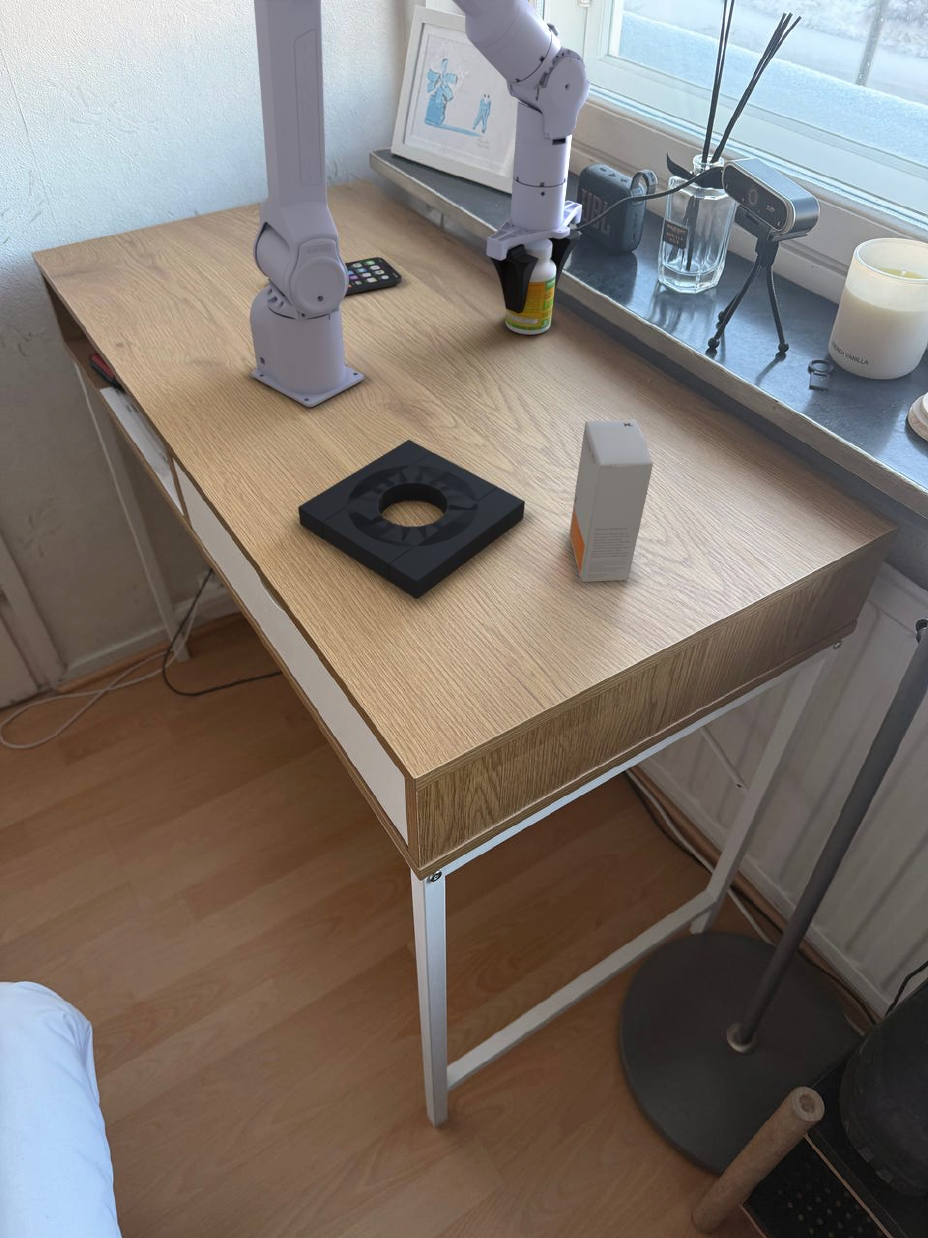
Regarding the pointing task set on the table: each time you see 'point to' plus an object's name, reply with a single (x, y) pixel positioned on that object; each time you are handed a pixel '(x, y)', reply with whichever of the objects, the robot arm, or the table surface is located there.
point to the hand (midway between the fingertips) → (529, 301)
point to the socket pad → (418, 550)
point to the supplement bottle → (536, 293)
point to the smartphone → (370, 275)
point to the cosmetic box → (609, 499)
